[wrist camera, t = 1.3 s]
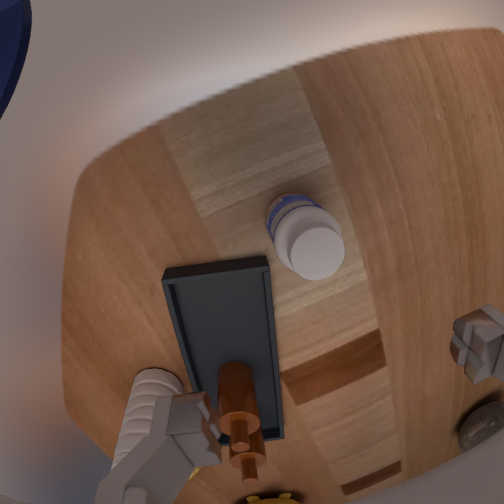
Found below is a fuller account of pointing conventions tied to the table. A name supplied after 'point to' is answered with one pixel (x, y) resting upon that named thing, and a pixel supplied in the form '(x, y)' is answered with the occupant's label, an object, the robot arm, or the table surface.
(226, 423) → the amber bottle
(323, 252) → the pill bottle
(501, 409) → the bowl
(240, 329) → the tray
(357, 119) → the table surface
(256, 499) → the teapot
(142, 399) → the water bottle
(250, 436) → the amber bottle
